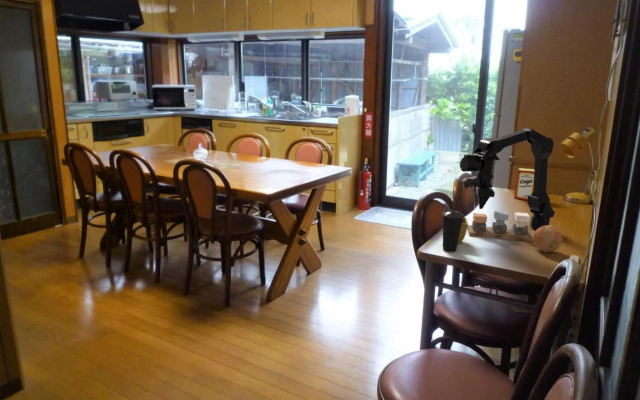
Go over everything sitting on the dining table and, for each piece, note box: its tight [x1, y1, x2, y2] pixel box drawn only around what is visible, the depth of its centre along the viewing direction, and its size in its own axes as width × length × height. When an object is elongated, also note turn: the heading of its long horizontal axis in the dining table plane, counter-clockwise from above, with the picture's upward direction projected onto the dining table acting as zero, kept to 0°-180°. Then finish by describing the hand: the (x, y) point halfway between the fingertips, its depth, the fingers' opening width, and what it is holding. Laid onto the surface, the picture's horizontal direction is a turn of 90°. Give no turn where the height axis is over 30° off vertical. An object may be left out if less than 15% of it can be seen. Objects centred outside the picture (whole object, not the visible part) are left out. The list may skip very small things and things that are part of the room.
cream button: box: [513, 211, 531, 228], centre depth 191 cm, size 5×5×5 cm
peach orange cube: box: [472, 212, 488, 224], centre depth 195 cm, size 5×5×5 cm
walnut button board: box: [467, 220, 533, 242], centre depth 194 cm, size 24×10×4 cm, turn 79°
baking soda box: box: [513, 167, 534, 201], centre depth 255 cm, size 10×6×16 cm
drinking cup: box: [441, 196, 465, 253], centre depth 173 cm, size 8×8×20 cm
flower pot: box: [458, 216, 469, 245], centre depth 183 cm, size 9×9×9 cm
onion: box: [532, 224, 563, 253], centre depth 176 cm, size 10×10×10 cm
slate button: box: [493, 210, 510, 226], centre depth 193 cm, size 5×5×5 cm
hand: (480, 208), depth 193 cm, fingers closed
